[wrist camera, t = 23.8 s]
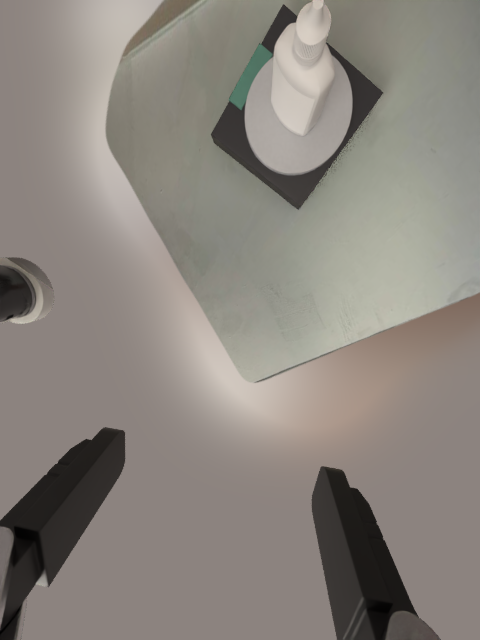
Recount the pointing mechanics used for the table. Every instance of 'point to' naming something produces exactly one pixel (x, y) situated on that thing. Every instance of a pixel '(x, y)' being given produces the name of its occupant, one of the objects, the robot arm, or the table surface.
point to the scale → (274, 138)
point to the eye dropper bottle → (303, 69)
